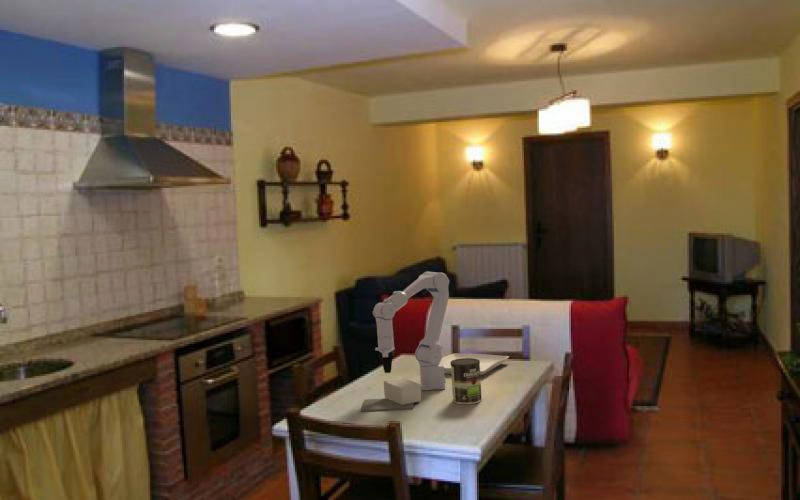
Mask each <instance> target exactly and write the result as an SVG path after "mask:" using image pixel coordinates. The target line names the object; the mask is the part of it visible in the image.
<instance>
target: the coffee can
mask: <svg viewBox="0 0 800 500" xmlns="http://www.w3.org/2000/svg"><path fill="white" fill-rule="evenodd" d="M450 364H451V374H450V375H451V386H452V387H451V389H452V390H451V391H452V402H453V404H457V405H461V406H462V405H465V406H466V405H467V406H468V405H476V404H479V403H480V402H482V400H483V398H482V383H481V382H482V381H481V375H480V360H478V359H473V358H462V359H455V360H452V361H451V362H450Z"/></svg>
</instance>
